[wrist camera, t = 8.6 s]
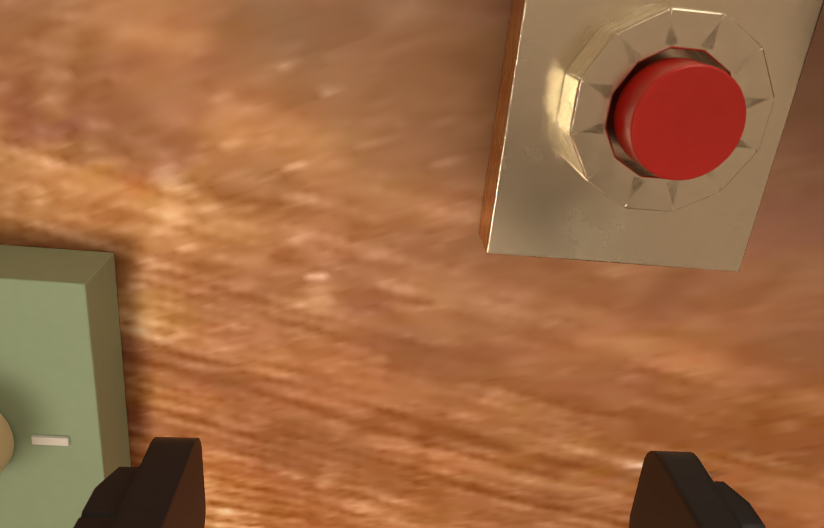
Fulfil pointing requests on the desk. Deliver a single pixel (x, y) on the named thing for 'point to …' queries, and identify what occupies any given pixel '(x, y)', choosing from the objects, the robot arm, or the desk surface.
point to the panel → (59, 382)
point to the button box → (596, 140)
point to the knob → (5, 443)
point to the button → (680, 118)
